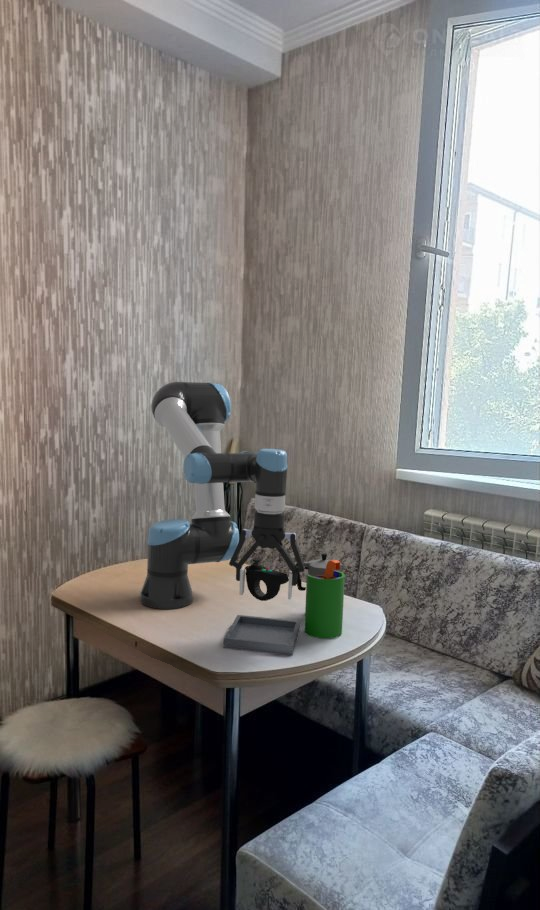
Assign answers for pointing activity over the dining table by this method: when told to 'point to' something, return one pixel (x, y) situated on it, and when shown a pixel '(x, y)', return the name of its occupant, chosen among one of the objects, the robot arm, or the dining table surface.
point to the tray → (263, 635)
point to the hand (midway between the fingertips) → (265, 595)
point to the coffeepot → (316, 569)
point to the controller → (264, 580)
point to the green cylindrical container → (325, 602)
